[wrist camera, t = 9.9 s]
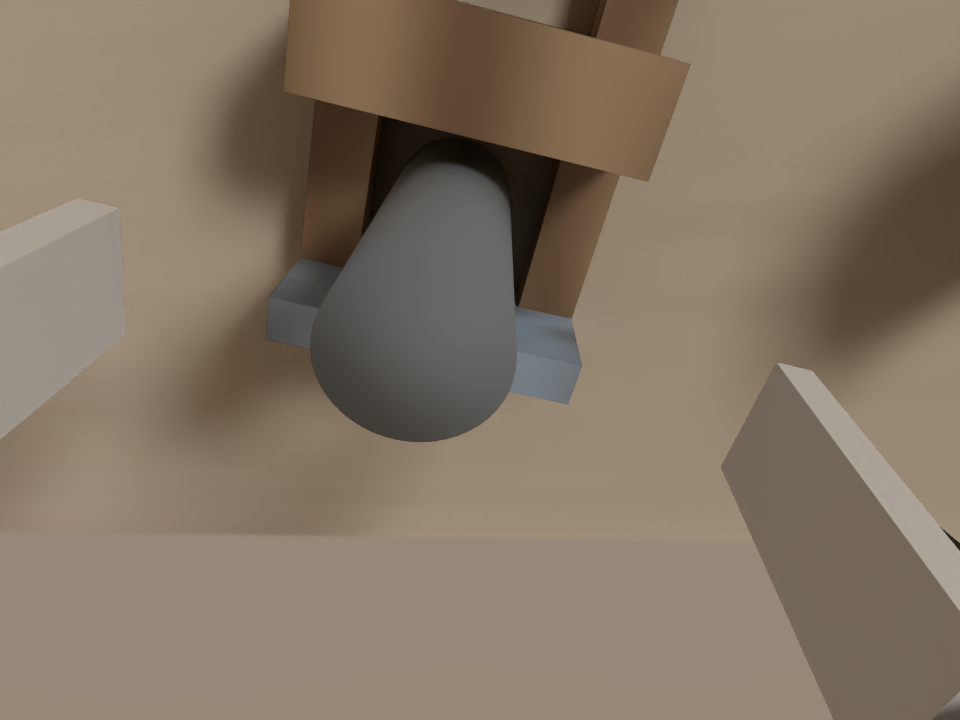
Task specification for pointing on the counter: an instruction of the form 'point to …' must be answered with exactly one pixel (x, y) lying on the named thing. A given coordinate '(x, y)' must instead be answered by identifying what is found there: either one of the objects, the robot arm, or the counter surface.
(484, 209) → the plug
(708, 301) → the counter surface
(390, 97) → the socket block
